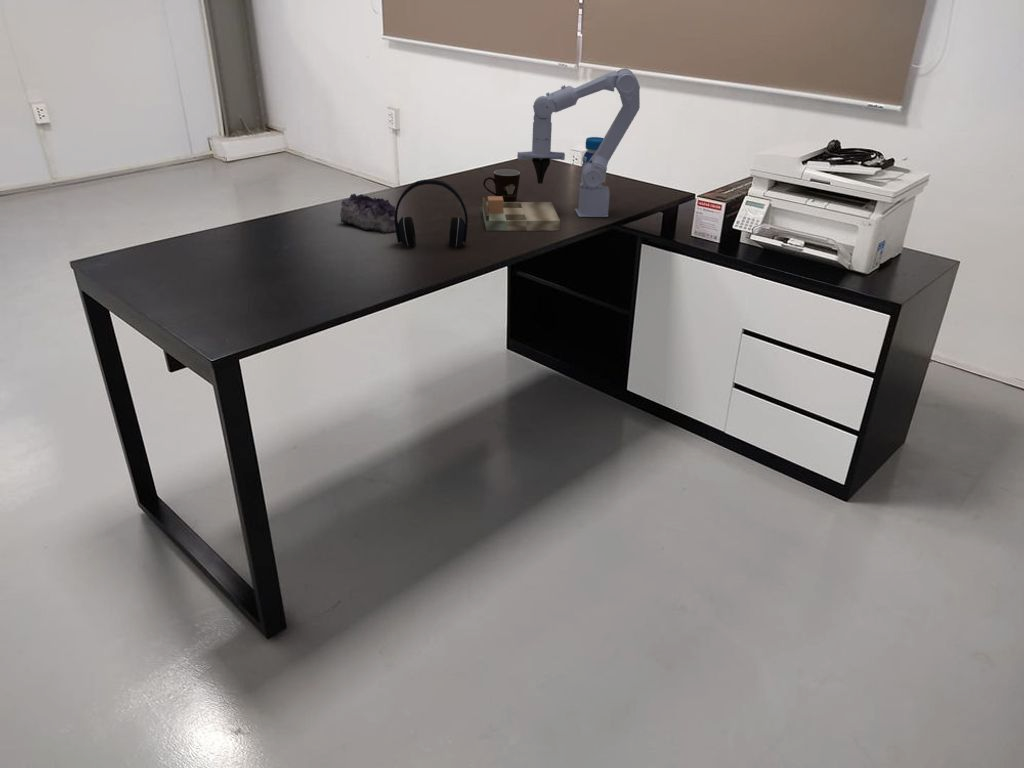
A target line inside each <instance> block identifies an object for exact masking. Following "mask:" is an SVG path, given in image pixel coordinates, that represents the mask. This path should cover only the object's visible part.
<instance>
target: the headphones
mask: <svg viewBox="0 0 1024 768" xmlns="http://www.w3.org/2000/svg"><path fill="white" fill-rule="evenodd" d="M423 185H436V186H440V187H443V188H445V189H447V190H448V191H450V192H451V193H452V194H453V195H454V196H455V197H456V198H457V199H458V201H459V203H460V205H461V207H462V209H463V210H462V211H463V212H464V213H463V214H464V218H462V217H458V216H457V217H455V216H454V217H453V216H452V217H451V218H450V227H449V228H450V229H449V237H448V245H449V246H451V247H456V248H457V247H461V245H462V244H463V243H467V235H468V224H469V219H468V218H469V217H468V212H467V208H466V205H465V203H464V200H463V199H462V197H461V195H460V194H459V192H458V191H457V190H456V189H455V188H454V187H453V186H451V184H449V183H447V182H445V181H443V180H439V179H431V178H430V179H429V178H428V179H421V180H416V181H415V182H413V183H411V184H410V185H409V186H407V187H406V189H404V191H402V193H401V195H400V196H399V198H398V200H397V203H396V206H395V230H396V232H395V236H396V241H397V243H401V244H402V245H403V246H404V247H413V246H415V245H416V243H417V236H416V232H415V231H416V230H415V225H414V220H413V217H412V216H405V217H404V216H403V217H400V219H399V220H398V213H399V212H398V211H399V208H400V207H399V206H400V204H401V202H402V200H403V198H404V197H405V196H406V195H407V194H409V192H410V191H411V190H414V188H415V189H416V187H419V186H423ZM463 219H465V221H464V220H463Z"/></svg>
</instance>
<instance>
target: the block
mask: <svg viewBox="0 0 1024 768" xmlns="http://www.w3.org/2000/svg"><path fill="white" fill-rule="evenodd" d="M487 202H488V213H503V197H502V196H495V195H492V196H491V195H489V196H487Z"/></svg>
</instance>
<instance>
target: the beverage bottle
mask: <svg viewBox="0 0 1024 768" xmlns="http://www.w3.org/2000/svg"><path fill="white" fill-rule="evenodd" d="M603 139H604V137H601V136H600V137H599V136H590V137H586V139H585V150H586V151H585V153H584V154H583V156H582V160H581V161H582V165H581V169H582V167H583V165H584V164H585V163H587V162H588V161H589V160H590V159H591V157H592V156H593V155H594V154H595V153H596V151H597V149H598V148H599V146H600V144H601V142H602V141H603ZM607 170H608V167H607V168H606V170H605V172H604V174H603V181H602V185H603V186H606V177H607ZM580 175H581V177H580V178H581V179H580V183H581V182H582V181H583V179H582V174H580Z"/></svg>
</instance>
